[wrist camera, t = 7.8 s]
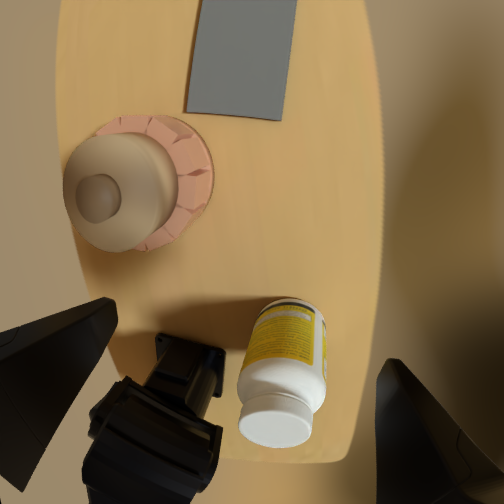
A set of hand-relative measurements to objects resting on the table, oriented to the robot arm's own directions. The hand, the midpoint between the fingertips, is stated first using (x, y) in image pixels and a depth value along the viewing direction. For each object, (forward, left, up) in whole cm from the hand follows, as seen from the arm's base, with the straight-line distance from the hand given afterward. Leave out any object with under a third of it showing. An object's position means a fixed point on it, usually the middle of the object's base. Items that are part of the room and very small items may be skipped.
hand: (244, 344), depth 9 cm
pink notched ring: (+2, +9, -12) cm, 15 cm away
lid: (+2, +9, -8) cm, 13 cm away
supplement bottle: (-8, -2, -12) cm, 15 cm away
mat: (+11, +4, -12) cm, 17 cm away
